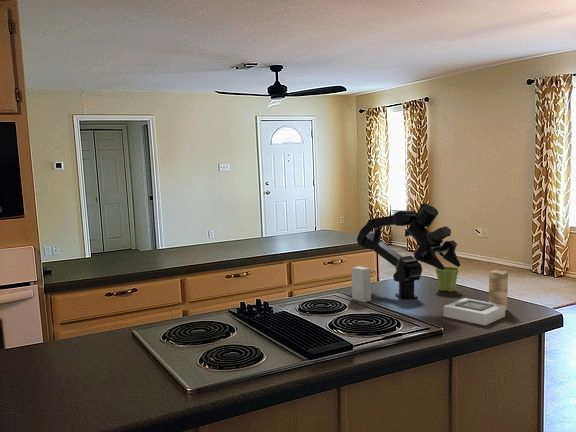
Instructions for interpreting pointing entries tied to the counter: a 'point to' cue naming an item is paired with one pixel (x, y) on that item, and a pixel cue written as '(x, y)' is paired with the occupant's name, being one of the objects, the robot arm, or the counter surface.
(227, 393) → the counter surface
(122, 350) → the counter surface
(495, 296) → the peg
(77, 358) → the counter surface
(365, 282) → the skincare box
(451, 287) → the plant pot
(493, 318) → the socket block
